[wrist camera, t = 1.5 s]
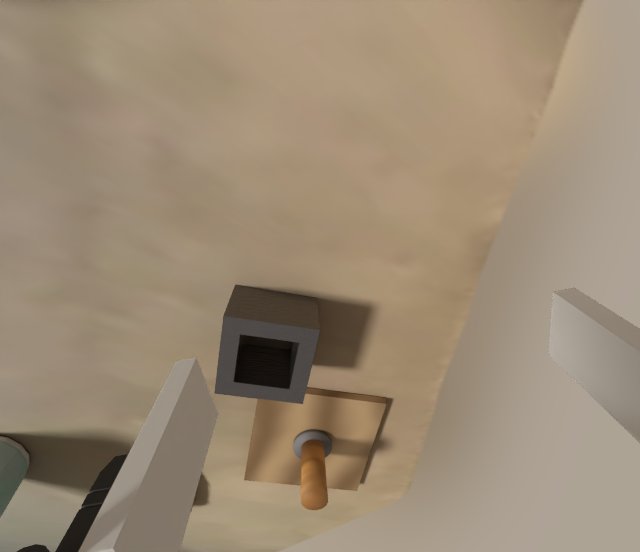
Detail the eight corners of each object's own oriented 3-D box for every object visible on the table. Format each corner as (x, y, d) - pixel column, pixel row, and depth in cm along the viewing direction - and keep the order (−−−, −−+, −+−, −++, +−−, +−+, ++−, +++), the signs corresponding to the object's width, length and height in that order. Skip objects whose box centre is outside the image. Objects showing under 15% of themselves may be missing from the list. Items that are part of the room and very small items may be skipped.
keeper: (245, 472, 46) (234, 540, 38) (261, 381, 40) (252, 440, 33) (355, 483, 48) (366, 550, 40) (384, 397, 42) (402, 457, 35)
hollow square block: (226, 353, 39) (214, 393, 33) (235, 284, 36) (223, 316, 30) (302, 364, 40) (302, 404, 34) (317, 297, 37) (320, 330, 31)
